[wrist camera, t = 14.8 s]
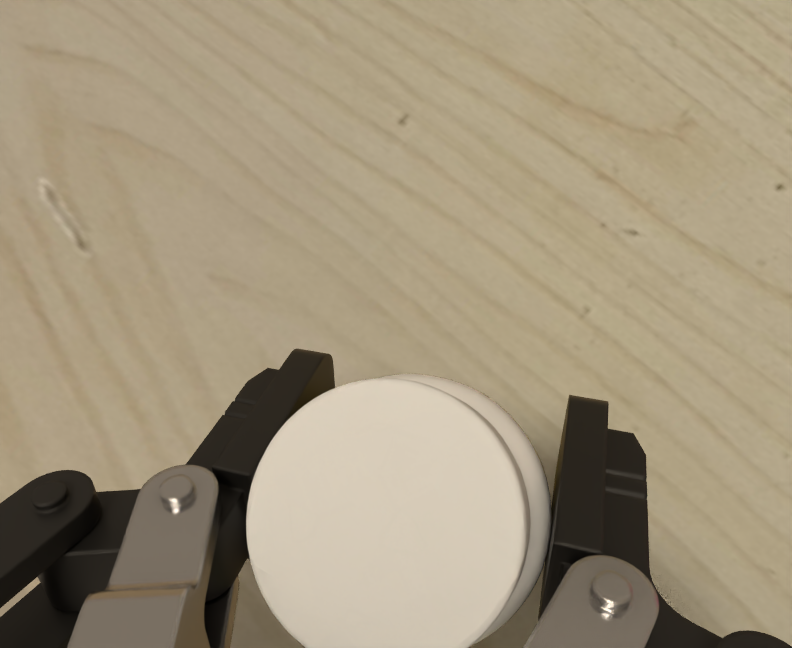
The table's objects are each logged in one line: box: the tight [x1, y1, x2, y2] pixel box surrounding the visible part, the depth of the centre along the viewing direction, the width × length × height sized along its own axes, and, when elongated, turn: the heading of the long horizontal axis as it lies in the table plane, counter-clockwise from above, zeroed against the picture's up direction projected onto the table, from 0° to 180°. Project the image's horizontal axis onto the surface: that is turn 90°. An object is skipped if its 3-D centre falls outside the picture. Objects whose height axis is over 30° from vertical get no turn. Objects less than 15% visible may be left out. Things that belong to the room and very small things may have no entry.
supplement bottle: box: [246, 374, 552, 648], centre depth 13 cm, size 5×5×8 cm
